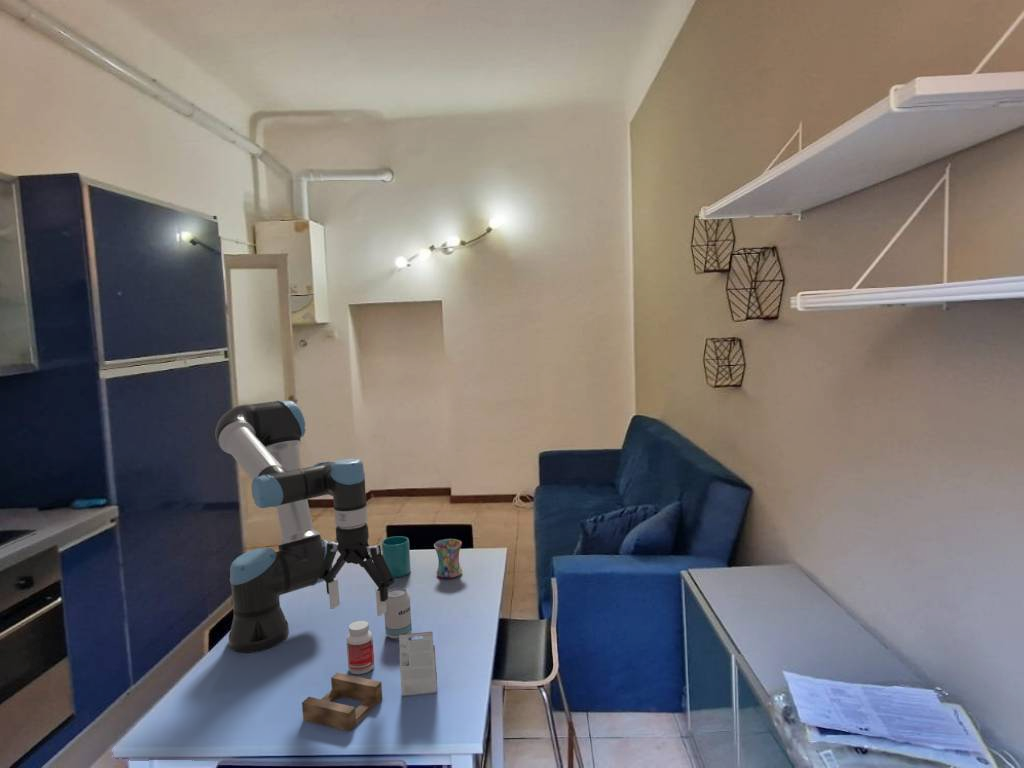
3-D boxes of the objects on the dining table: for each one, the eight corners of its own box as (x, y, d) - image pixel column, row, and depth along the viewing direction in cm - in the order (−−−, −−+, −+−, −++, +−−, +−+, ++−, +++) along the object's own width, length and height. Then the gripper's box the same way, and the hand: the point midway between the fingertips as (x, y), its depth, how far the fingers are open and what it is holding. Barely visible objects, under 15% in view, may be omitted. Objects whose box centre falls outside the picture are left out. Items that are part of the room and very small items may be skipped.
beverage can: (400, 643, 163) (398, 599, 162) (380, 638, 166) (377, 595, 165) (417, 631, 169) (414, 589, 168) (397, 626, 172) (394, 585, 171)
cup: (415, 564, 217) (414, 533, 216) (406, 578, 205) (404, 545, 204) (390, 564, 218) (388, 533, 217) (380, 578, 206) (377, 545, 205)
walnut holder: (303, 720, 133) (301, 702, 132) (338, 688, 144) (337, 672, 143) (349, 731, 128) (348, 713, 128) (382, 698, 139) (381, 681, 139)
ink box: (402, 687, 143) (398, 627, 142) (437, 684, 144) (434, 624, 142) (401, 697, 139) (397, 635, 138) (437, 693, 140) (433, 632, 139)
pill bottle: (378, 669, 151) (375, 626, 150) (353, 678, 148) (350, 634, 147) (369, 658, 156) (366, 616, 155) (345, 667, 153) (342, 624, 152)
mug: (435, 570, 211) (433, 540, 210) (462, 568, 212) (461, 537, 211) (435, 585, 199) (433, 552, 198) (464, 582, 200) (462, 550, 199)
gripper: (299, 525, 150) (306, 610, 152) (387, 533, 140) (393, 623, 142) (319, 516, 157) (326, 597, 158) (405, 523, 147) (410, 609, 149)
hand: (358, 610), depth 150 cm, fingers open, 13 cm apart
